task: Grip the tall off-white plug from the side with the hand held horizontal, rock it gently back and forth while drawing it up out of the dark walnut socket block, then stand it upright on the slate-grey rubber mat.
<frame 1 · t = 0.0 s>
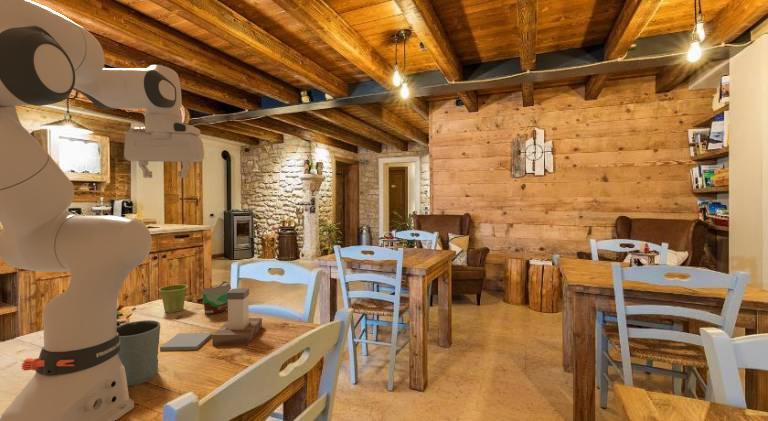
hand: (165, 177, 101), 48 cm above the table, tool pointing down, fingers open, 8 cm apart
socket block: (238, 335, 111), on the table
plant pot: (174, 310, 135), on the table
grey green bucket: (136, 378, 85), on the table
plug: (238, 313, 110), in the socket block
mat: (187, 342, 105), on the table
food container: (220, 312, 134), on the table
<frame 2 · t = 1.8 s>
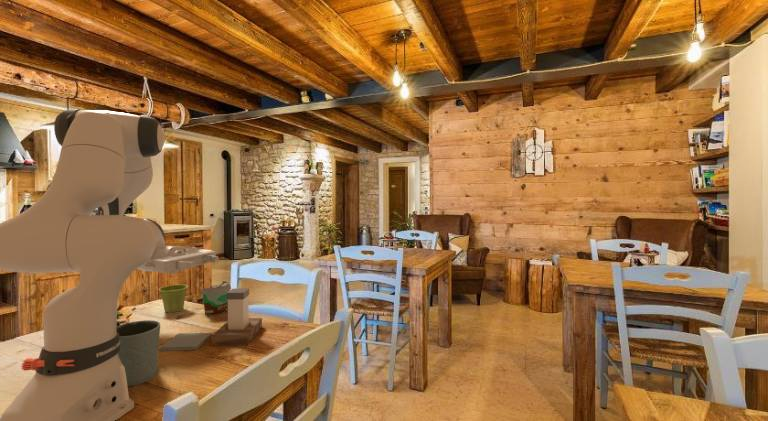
hand: (205, 262, 113), 22 cm above the table, tool horizontal, fingers open, 8 cm apart
nothing on the table moved.
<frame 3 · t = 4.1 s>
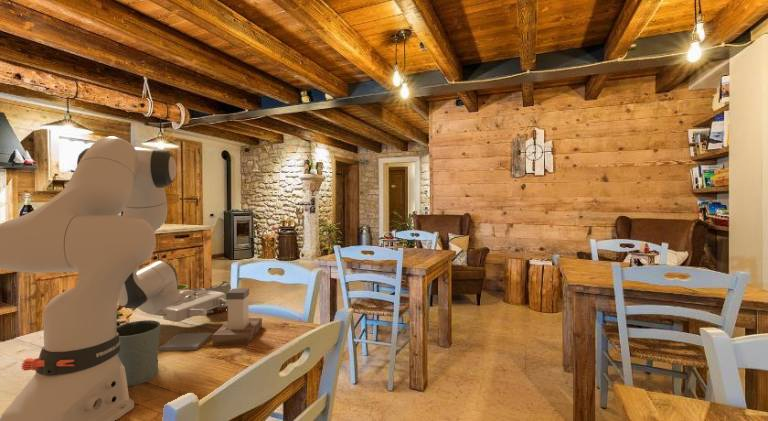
hand: (216, 307, 113), 8 cm above the table, tool horizontal, fingers open, 8 cm apart
nothing on the table moved.
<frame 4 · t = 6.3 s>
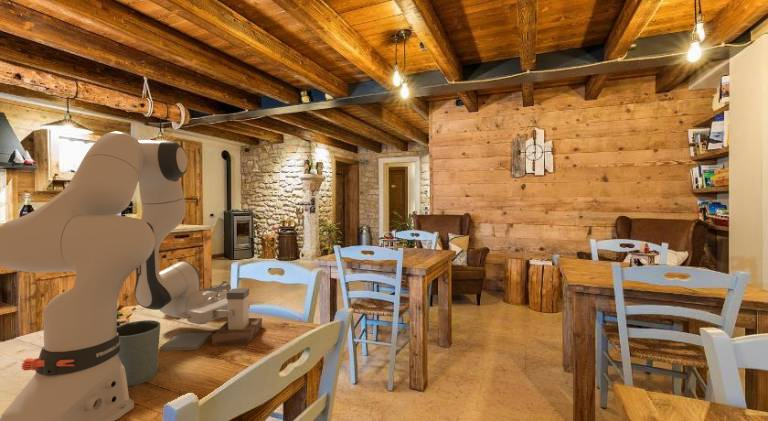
hand: (240, 310, 110), 8 cm above the table, tool horizontal, fingers closed on plug, 6 cm apart
plug: (238, 313, 110), in the socket block, touching gripper
everything else where it was.
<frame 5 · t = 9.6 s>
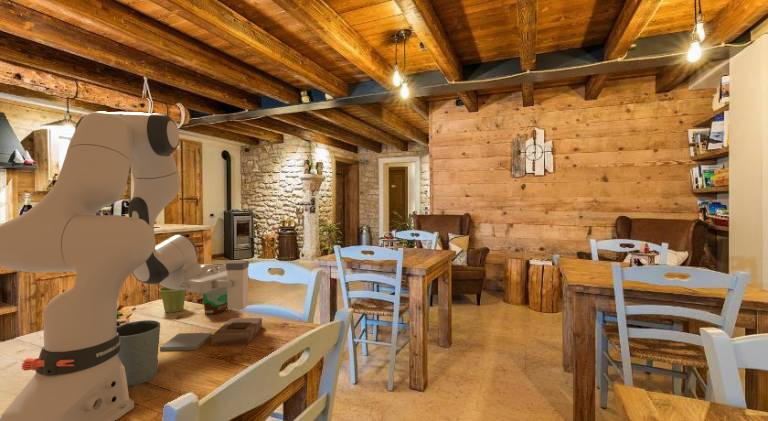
hand: (240, 281, 110), 17 cm above the table, tool horizontal, fingers closed on plug, 6 cm apart
plug: (237, 284, 110), point 16 cm above the table, touching gripper
everything else where it was.
when the fingers open (10 cm above the table, at t = 13.0 s): plug drops 1 cm, resting on mat.
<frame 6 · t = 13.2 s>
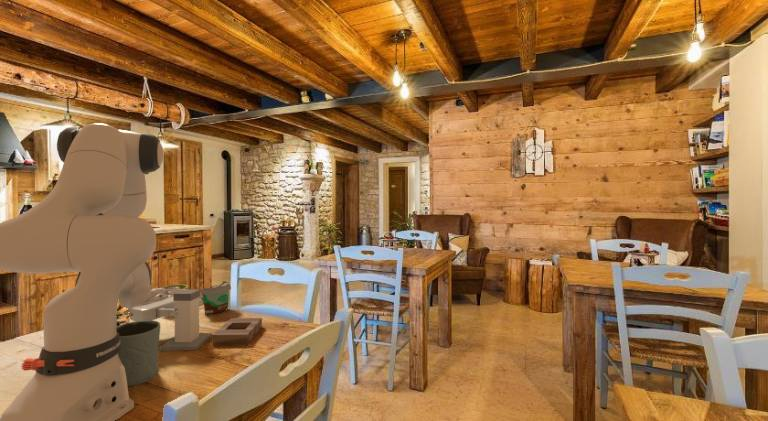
hand: (189, 307, 104), 10 cm above the table, tool horizontal, fingers open, 8 cm apart
plug: (187, 315, 105), on the mat, point 8 cm above the table
everything else where it was.
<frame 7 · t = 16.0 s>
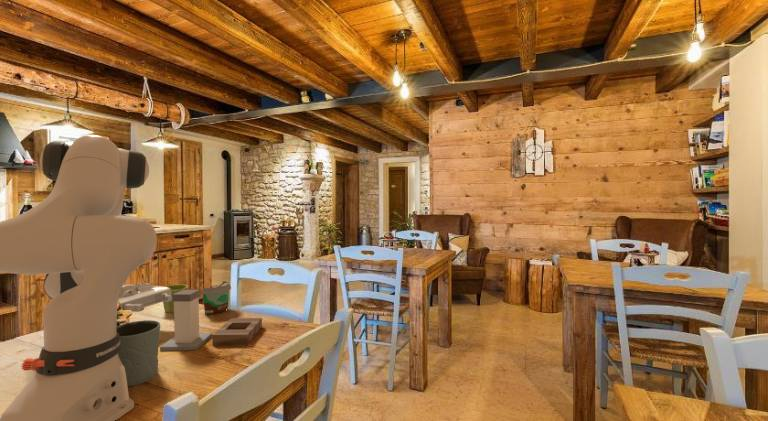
hand: (156, 303, 108), 11 cm above the table, tool horizontal, fingers open, 8 cm apart
nothing on the table moved.
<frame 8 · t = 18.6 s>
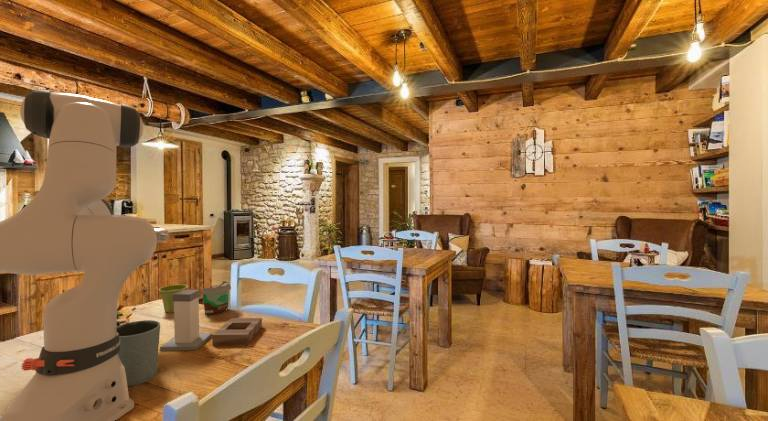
hand: (153, 239, 107), 30 cm above the table, tool horizontal, fingers open, 8 cm apart
nothing on the table moved.
at the end: plug inside the target area (0.1 cm from its centre), point 8.0 cm above the table; plug tilted 0°; the gripper is holding nothing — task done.
